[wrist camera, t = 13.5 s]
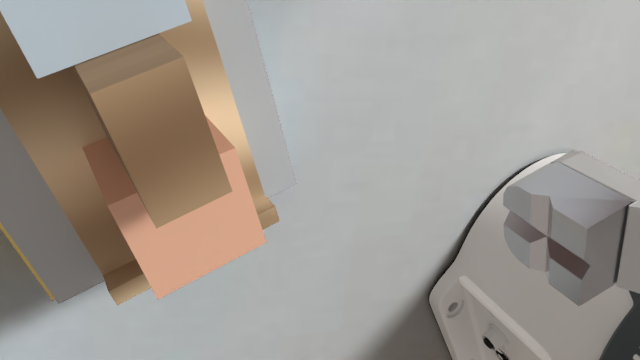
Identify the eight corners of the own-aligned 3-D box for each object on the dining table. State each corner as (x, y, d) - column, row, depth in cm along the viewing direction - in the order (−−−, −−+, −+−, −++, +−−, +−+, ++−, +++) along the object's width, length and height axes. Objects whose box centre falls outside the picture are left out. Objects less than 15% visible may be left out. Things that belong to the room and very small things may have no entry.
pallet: (257, 195, 25) (342, 293, 19) (105, 271, 23) (153, 405, 17) (110, -253, 15) (196, -302, 10) (-177, -193, 13) (-263, -215, 8)
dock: (273, 160, 28) (296, 183, 26) (45, 270, 24) (53, 306, 22) (143, -280, 17) (167, -294, 15) (-281, -196, 14) (-315, -201, 12)
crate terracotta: (224, 188, 22) (266, 242, 19) (128, 234, 21) (157, 299, 18) (192, 101, 20) (235, 147, 17) (82, 147, 19) (107, 206, 16)
